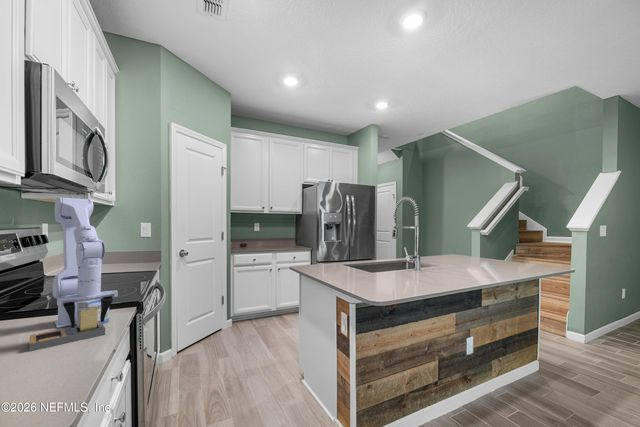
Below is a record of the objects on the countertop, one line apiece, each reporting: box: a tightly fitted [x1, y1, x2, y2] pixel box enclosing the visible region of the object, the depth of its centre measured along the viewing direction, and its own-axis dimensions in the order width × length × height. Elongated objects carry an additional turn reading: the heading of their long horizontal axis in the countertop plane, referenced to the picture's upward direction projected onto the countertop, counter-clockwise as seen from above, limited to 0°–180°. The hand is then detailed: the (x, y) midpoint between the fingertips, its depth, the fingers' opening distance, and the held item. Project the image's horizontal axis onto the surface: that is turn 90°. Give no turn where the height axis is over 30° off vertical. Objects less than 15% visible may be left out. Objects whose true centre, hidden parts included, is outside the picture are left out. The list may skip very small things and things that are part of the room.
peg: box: [79, 306, 98, 332], centre depth 88 cm, size 4×4×8 cm
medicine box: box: [76, 299, 110, 327], centre depth 97 cm, size 8×4×9 cm, turn 168°
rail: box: [28, 322, 106, 352], centre depth 85 cm, size 8×16×2 cm, turn 136°
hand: (87, 324), depth 88 cm, fingers open, 6 cm apart
